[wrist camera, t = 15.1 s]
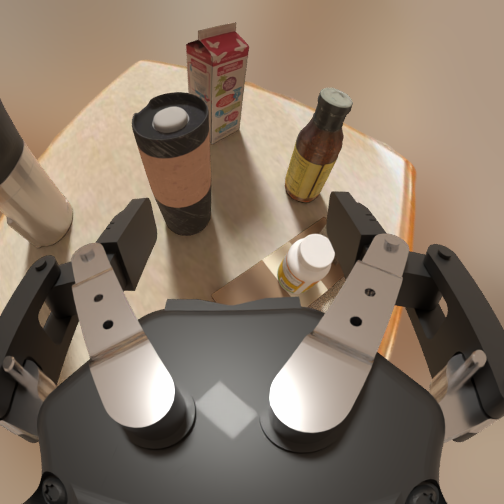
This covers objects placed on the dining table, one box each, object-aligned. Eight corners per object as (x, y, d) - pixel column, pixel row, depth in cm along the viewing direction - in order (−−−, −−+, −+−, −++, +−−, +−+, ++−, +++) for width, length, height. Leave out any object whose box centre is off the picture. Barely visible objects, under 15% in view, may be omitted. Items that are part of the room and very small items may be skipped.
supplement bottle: (313, 259, 39) (339, 230, 30) (313, 295, 37) (342, 276, 28) (276, 255, 38) (293, 224, 29) (275, 293, 36) (293, 272, 27)
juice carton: (191, 126, 47) (185, 26, 27) (218, 113, 50) (222, 17, 29) (211, 144, 46) (213, 36, 26) (239, 129, 48) (251, 27, 28)
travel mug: (218, 230, 40) (218, 130, 21) (168, 243, 38) (131, 150, 20) (206, 189, 42) (201, 86, 24) (160, 200, 41) (130, 101, 22)
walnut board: (251, 349, 34) (252, 349, 33) (211, 296, 36) (211, 294, 35) (357, 263, 41) (360, 260, 39) (321, 220, 43) (323, 216, 41)
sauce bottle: (314, 175, 46) (356, 87, 28) (321, 205, 44) (373, 118, 25) (278, 173, 45) (308, 78, 27) (283, 204, 43) (321, 108, 24)
